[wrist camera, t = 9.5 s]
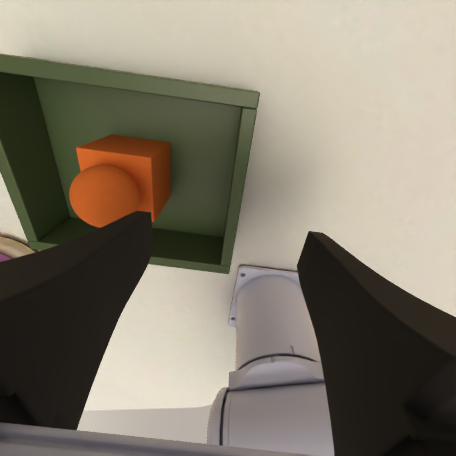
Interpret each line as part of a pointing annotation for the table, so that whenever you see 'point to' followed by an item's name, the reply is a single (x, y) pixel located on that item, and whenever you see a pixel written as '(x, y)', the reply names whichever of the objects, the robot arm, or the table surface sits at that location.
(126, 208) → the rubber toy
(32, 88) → the bin
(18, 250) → the stacking toy
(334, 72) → the table surface
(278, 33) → the table surface
